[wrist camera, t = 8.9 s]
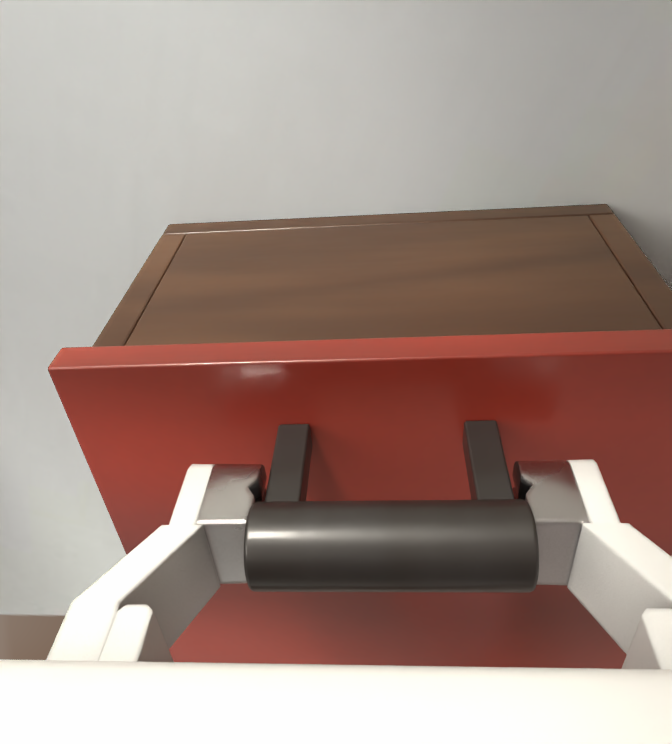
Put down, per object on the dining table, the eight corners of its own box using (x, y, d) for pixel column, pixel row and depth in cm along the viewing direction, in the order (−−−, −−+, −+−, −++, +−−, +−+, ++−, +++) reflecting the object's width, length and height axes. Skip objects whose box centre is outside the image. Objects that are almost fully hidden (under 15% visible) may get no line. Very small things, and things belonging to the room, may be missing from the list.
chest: (168, 223, 21) (72, 375, 14) (607, 203, 20) (723, 358, 13) (241, 522, 30) (203, 700, 23) (546, 520, 29) (596, 707, 22)
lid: (60, 346, 14) (-53, 508, 10) (735, 325, 13) (881, 500, 9) (203, 702, 23) (170, 852, 20) (597, 708, 22) (640, 869, 19)
